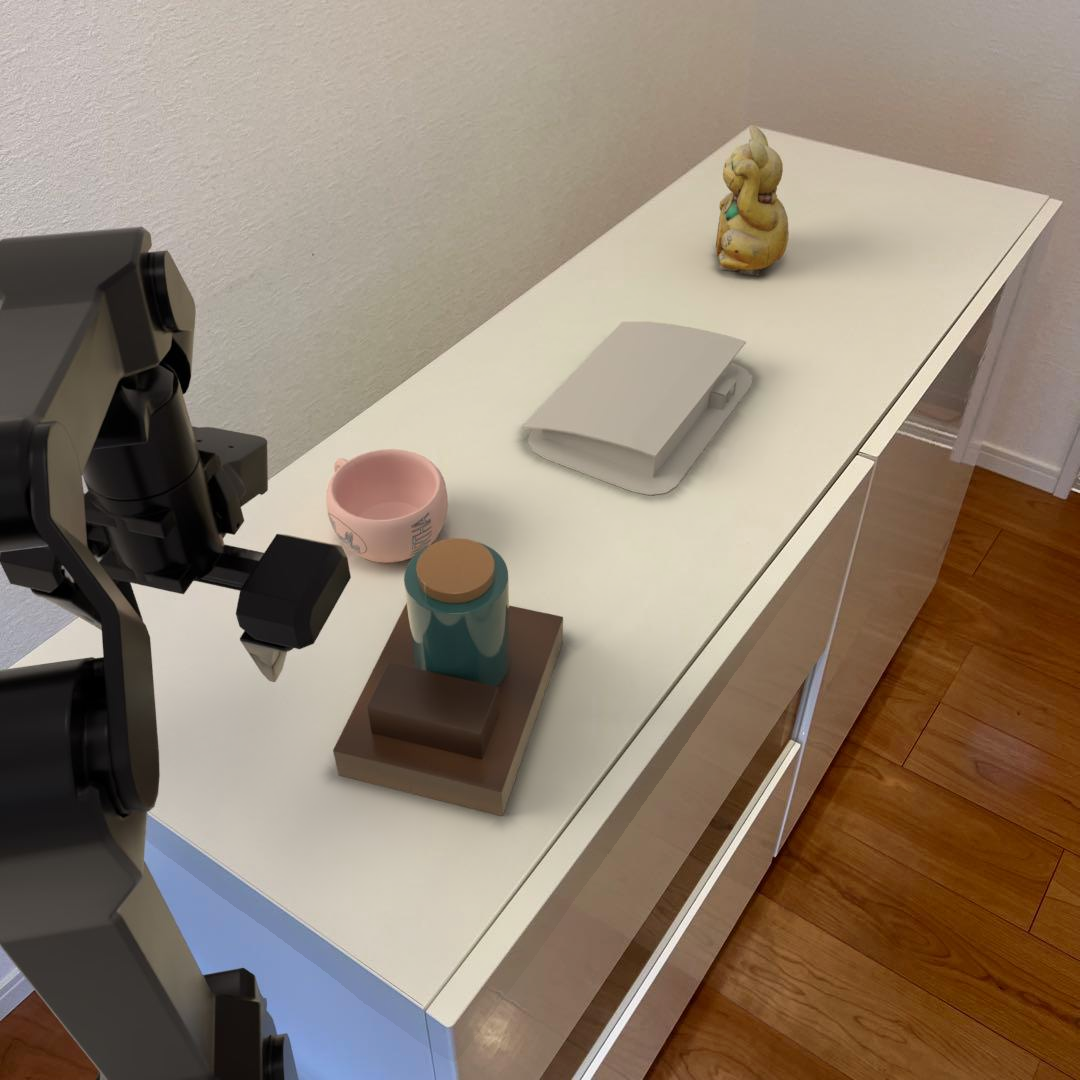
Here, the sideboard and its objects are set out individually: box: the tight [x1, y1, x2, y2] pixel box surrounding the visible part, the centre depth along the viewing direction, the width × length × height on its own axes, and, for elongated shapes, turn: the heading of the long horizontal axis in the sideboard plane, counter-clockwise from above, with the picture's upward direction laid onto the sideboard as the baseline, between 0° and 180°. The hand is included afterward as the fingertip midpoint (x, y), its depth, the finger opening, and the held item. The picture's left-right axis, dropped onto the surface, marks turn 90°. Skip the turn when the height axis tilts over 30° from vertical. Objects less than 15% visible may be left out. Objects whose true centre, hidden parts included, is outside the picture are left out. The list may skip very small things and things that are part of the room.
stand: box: [332, 602, 564, 817], centre depth 77 cm, size 16×12×6 cm
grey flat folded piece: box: [521, 321, 753, 496], centre depth 104 cm, size 15×23×4 cm, turn 150°
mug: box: [325, 448, 449, 564], centre depth 91 cm, size 12×10×6 cm
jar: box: [403, 537, 510, 686], centre depth 75 cm, size 11×7×11 cm
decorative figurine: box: [715, 124, 790, 277], centre depth 120 cm, size 10×8×15 cm
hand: (206, 659), depth 66 cm, fingers open, 9 cm apart
